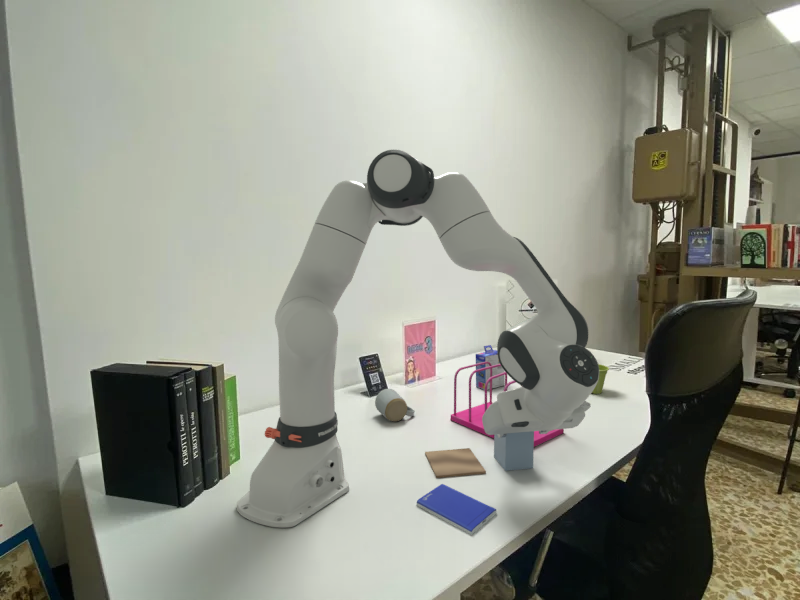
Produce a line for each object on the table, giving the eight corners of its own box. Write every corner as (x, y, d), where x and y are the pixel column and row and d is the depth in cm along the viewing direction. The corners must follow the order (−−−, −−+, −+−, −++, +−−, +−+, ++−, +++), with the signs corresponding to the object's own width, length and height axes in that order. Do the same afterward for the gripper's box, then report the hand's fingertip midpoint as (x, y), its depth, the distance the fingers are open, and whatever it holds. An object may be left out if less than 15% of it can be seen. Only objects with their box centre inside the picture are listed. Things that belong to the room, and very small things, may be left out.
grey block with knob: (532, 468, 93) (534, 423, 92) (505, 470, 92) (506, 426, 91) (520, 454, 100) (521, 412, 99) (493, 456, 99) (494, 414, 98)
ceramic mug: (385, 425, 117) (385, 398, 116) (374, 415, 125) (374, 389, 124) (419, 419, 122) (419, 393, 121) (407, 409, 129) (407, 385, 128)
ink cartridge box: (493, 381, 155) (494, 343, 154) (505, 385, 151) (506, 345, 149) (474, 386, 150) (474, 346, 148) (485, 391, 145) (486, 349, 144)
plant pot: (593, 385, 150) (594, 361, 149) (614, 394, 141) (615, 368, 140) (571, 388, 147) (572, 364, 146) (591, 397, 138) (592, 371, 137)
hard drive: (416, 500, 80) (471, 529, 72) (442, 482, 86) (496, 507, 77) (416, 507, 80) (471, 538, 72) (442, 490, 86) (496, 515, 78)
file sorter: (524, 453, 101) (525, 389, 99) (449, 420, 120) (450, 367, 119) (564, 433, 111) (566, 375, 110) (489, 406, 131) (490, 357, 129)
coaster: (485, 473, 91) (485, 471, 91) (436, 478, 90) (436, 475, 90) (469, 450, 102) (469, 448, 102) (425, 453, 100) (425, 451, 100)
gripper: (588, 386, 84) (560, 415, 95) (490, 393, 81) (473, 421, 92) (601, 416, 81) (570, 442, 91) (499, 424, 77) (480, 450, 88)
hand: (521, 432), depth 92 cm, fingers open, 8 cm apart
